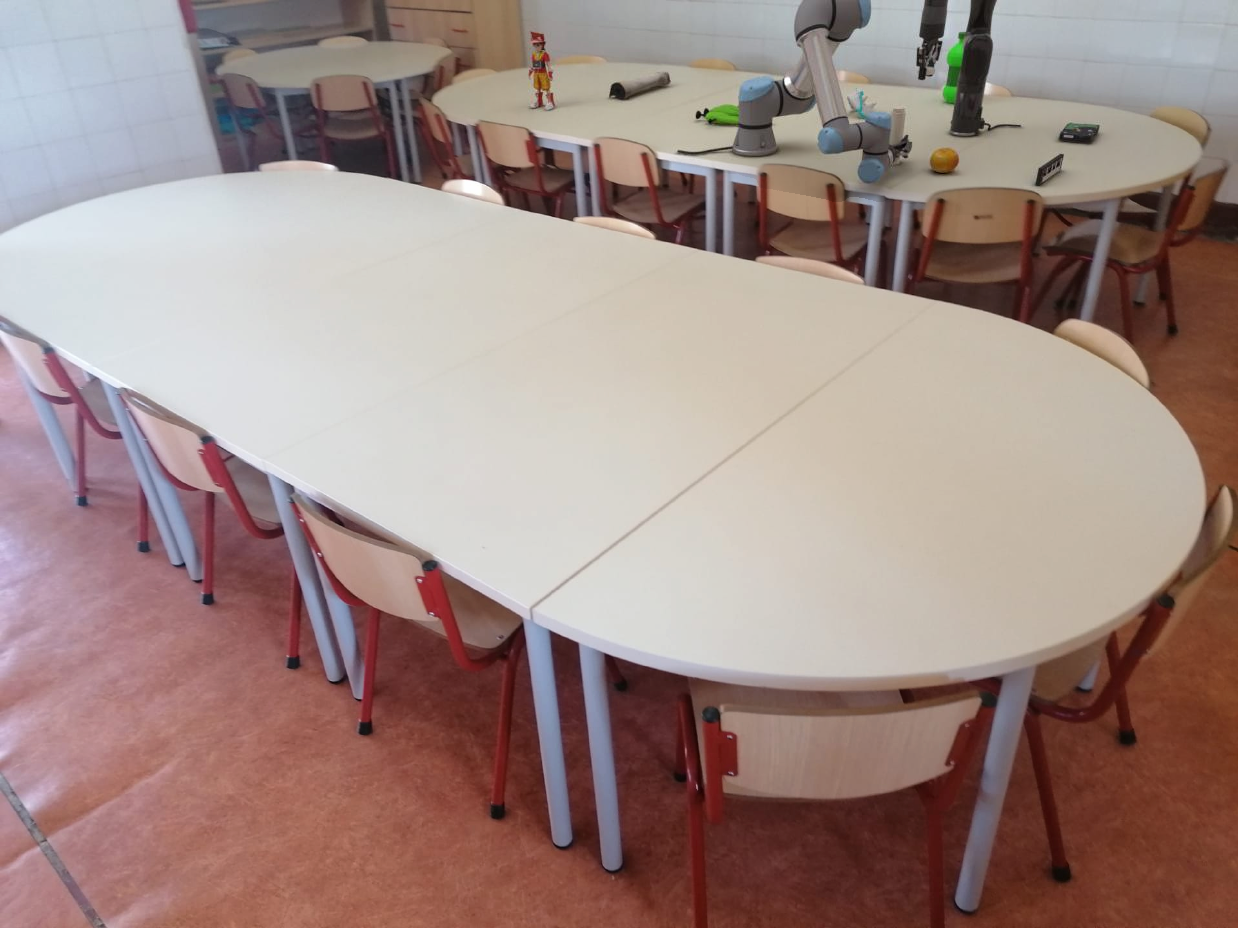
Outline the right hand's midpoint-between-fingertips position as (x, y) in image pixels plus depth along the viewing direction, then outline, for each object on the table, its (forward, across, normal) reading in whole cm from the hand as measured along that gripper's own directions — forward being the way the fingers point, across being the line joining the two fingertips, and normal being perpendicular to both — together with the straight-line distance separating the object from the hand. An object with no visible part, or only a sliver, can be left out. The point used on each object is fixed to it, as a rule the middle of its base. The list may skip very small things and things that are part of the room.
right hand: (925, 78), depth 292 cm
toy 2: (+24, -2, -74) cm, 78 cm away
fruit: (+23, +18, +18) cm, 34 cm away
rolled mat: (+24, -23, -140) cm, 144 cm away
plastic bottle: (+23, -67, -15) cm, 73 cm away
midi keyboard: (+23, +8, +47) cm, 53 cm away
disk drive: (+23, -40, +40) cm, 61 cm away
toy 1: (+24, +19, -160) cm, 163 cm away
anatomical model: (+23, -34, -38) cm, 56 cm away
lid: (-3, 0, 0) cm, 3 cm away
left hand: (+17, +12, -1) cm, 20 cm away
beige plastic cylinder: (+23, +17, 0) cm, 29 cm away
